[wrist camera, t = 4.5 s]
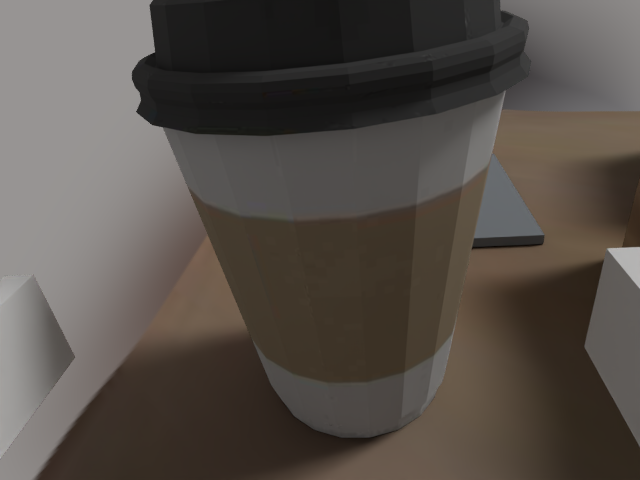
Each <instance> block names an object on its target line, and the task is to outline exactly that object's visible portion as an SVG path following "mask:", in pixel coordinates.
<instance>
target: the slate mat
mask: <svg viewBox="0 0 640 480" xmlns="http://www.w3.org/2000/svg"><path fill="white" fill-rule="evenodd" d="M543 242H544V233H543V232H542V230H541V228H540V227H539V225H538V224H537V222H536V220H535V219H534V217H533V216H532V214H531V212H530V211H529V209H528V208H527V206H526V204H525V203H524V201H523V200H522V198H521V196H520V195H519V193H518V192H517V190H516V188H515V187H514V185H513V184H512V182H511V180H510V179H509V177H508V176H507V174H506V172H505V171H504V169H503V168H502V166H501V164H500V163H499V161H498V160H497V158H496V156H495V155H494V154H492V156H491V161H490V166H489V170H488V175H487V179H486V184H485V189H484V193H483V198H482V203H481V207H480V212H479V217H478V221H477V226H476V231H475V235H474V240H473V245H472V247H484V246H507V245H530V244H543Z"/></svg>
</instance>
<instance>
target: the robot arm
mask: <svg viewBox="0 0 640 480" xmlns="http://www.w3.org/2000/svg"><path fill="white" fill-rule="evenodd" d="M584 347H585V349H586V351H587V353H588V355H589V356H590V358H591V360H592V362H593V364H594V365H595V367H596V369H597V371H598V373H599V374H600V376H601V378H602V380H603V382H604V383H605V385H606V387H607V389H608V391H609V392H610V394H611V396H612V398H613V400H614V401H615V403H616V405H617V407H618V409H619V410H620V412H621V414H622V416H623V418H624V419H625V421H626V423H627V425H628V427H629V428H630V430H631V432H632V434H633V436H634V437H635V439H636V441H637V443H638V445H639V446H640V247H628V248H607V249H606V254H605V258H604V262H603V267H602V271H601V276H600V280H599V284H598V289H597V293H596V297H595V302H594V306H593V311H592V315H591V319H590V324H589V328H588V332H587V337H586V341H585V345H584ZM74 358H75V356H74V354H73V352H72V350H71V348H70V346H69V344H68V342H67V340H66V339H65V336H64V334H63V332H62V330H61V328H60V326H59V324H58V322H57V320H56V318H55V316H54V314H53V312H52V311H51V308H50V307H49V304H48V302H47V300H46V298H45V297H44V295H43V293H42V291H41V289H40V287H39V285H38V283H37V281H36V279H35V277H34V275H14V276H13V275H12V276H5V277H3V278H2V279H1V280H0V459H1V458H2V456H3V455H4V454H5V452H6V451H7V450H8V448H9V447H10V445H11V444H12V443H13V441H14V440H15V439H16V437H17V436H18V435H19V433H20V432H21V430H22V429H23V428H24V426H25V425H26V423H27V422H28V421H29V420H30V418H31V417H32V415H33V414H34V413H35V411H36V410H37V409H38V407H39V406H40V404H41V403H42V402H43V400H44V399H45V398H46V396H47V395H48V394H49V392H50V391H51V389H52V388H53V387H54V385H55V384H56V383H57V381H58V380H59V379H60V377H61V376H62V374H63V373H64V372H65V370H66V369H67V368H68V366H69V365H70V363H71V362H72V360H73V359H74Z"/></svg>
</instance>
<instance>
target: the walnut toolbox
mask: <svg viewBox="0 0 640 480" xmlns="http://www.w3.org/2000/svg"><path fill="white" fill-rule="evenodd" d="M628 247H640V178H639V182H638V186H637V190H636V194H635V198H634V202H633V206H632V210H631V214H630V218H629V222H628V226H627V230H626V234H625V238H624V242H623V246H622V248H628Z"/></svg>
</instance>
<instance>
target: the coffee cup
mask: <svg viewBox="0 0 640 480" xmlns="http://www.w3.org/2000/svg"><path fill="white" fill-rule="evenodd" d="M150 11H151V20H152V28H153V37H154V46H155V53H153V54H150V55H148V56H146V57H144V58H143V59H142V60H140V61H139V62H138V64H137V65H136V67H135V68H134V70H133V71H132V80H133V83H134V85H135V87H136V89H137V90H138V91H139V92H140V97H141V102H140V105H139V107H138V109H137V111H136V112H137V113H138V114H139V115H140V116H142V117H143V118H144V119H145V120H147V121H148V122H149V123H150V124H152V125H155V126H159V127H163V129H164V131H165V134H166V136H167V139H168V141H169V143H170V145H171V148H172V150H173V153H174V155H175V157H176V160H177V162H178V164H179V167H180V169H181V172H182V174H183V177H184V179H185V181H186V184H187V186H188V188H189V191H190V193H191V196H192V198H193V200H194V203H195V205H196V208H197V210H198V212H199V215H200V217H201V219H202V222H203V224H204V226H205V229H206V231H207V234H208V236H209V238H210V241H211V243H212V246H213V248H214V250H215V253H216V255H217V258H218V260H219V262H220V265H221V267H222V269H223V272H224V274H225V277H226V279H227V281H228V284H229V286H230V288H231V291H232V293H233V296H234V298H235V300H236V303H237V305H238V307H239V310H240V312H241V315H242V317H243V319H244V322H245V324H246V326H247V329H248V331H249V334H250V336H251V338H252V341H253V343H254V346H255V348H256V350H257V353H258V355H259V357H260V360H261V362H262V365H263V367H264V369H265V372H266V374H267V376H268V379H269V381H270V384H271V385H272V387H273V388H274V390H275V391H276V393H277V394H278V395H279V397H280V398H281V400H282V401H283V402H284V404H286V406H287V407H288V409H289V410H290V412H291V413H292V414H293V416H294V417H296V418H297V419H299V420H300V421H302V422H303V423H305V424H306V425H308V426H309V427H311V428H312V429H314V430H317V431H320V432H324V433H327V434H330V435H334V436H337V437H341V438H370V437H374V436H378V435H381V434H385V433H388V432H392V431H395V430H398V429H400V428H402V427H403V426H405V425H406V424H408V423H409V422H411V421H412V420H414V419H416V418H417V417H419V416H420V415H421V414H422V413H423V411H424V410H425V409H426V407H427V406H428V405H429V404H430V402H431V401H432V400H433V398H434V397H435V394H436V390H437V388H438V387H439V386H440V385H441V383H442V381H443V377H444V373H445V369H446V365H447V361H448V356H449V352H450V347H451V343H452V338H453V333H454V329H455V324H456V319H457V315H458V310H459V305H460V301H461V296H462V291H463V287H464V282H465V277H466V273H467V268H468V263H469V259H470V254H471V249H472V245H473V240H474V235H475V231H476V226H477V221H478V217H479V212H480V207H481V203H482V198H483V193H484V189H485V184H486V179H487V175H488V170H489V166H490V161H491V156H492V152H493V147H494V142H495V138H496V133H497V128H498V124H499V119H500V114H501V110H502V105H503V100H504V96H505V91H506V90H507V89H508V88H510V87H512V86H513V85H515V84H517V83H518V82H520V81H522V80H523V79H525V78H526V77H528V75H529V69H530V64H531V60H530V59H529V58H528V56H527V55H526V54H525V52H524V46H525V43H526V39H527V35H528V30H529V26H528V21H527V20H525V19H522V18H520V17H518V16H516V15H513V14H511V13H509V12H506V11H501V10H500V0H153V1H152V2H151V4H150Z"/></svg>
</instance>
